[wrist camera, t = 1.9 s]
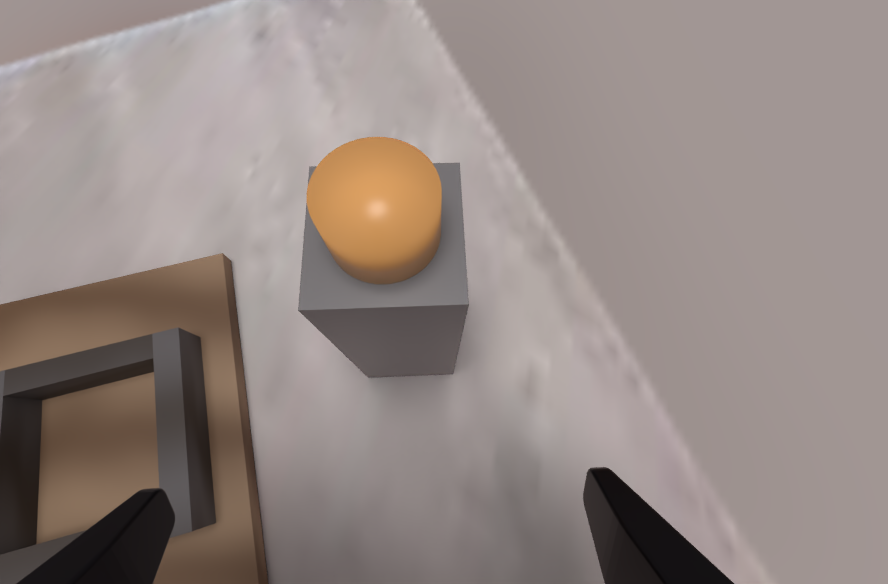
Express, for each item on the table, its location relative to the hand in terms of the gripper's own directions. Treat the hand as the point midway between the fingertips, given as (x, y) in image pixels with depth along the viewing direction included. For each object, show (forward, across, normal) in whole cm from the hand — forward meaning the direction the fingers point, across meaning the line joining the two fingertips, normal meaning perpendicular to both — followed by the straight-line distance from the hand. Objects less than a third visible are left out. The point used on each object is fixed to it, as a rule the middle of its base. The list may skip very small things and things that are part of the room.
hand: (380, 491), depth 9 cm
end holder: (+10, +14, +8) cm, 19 cm away
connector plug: (+14, 0, +4) cm, 14 cm away
